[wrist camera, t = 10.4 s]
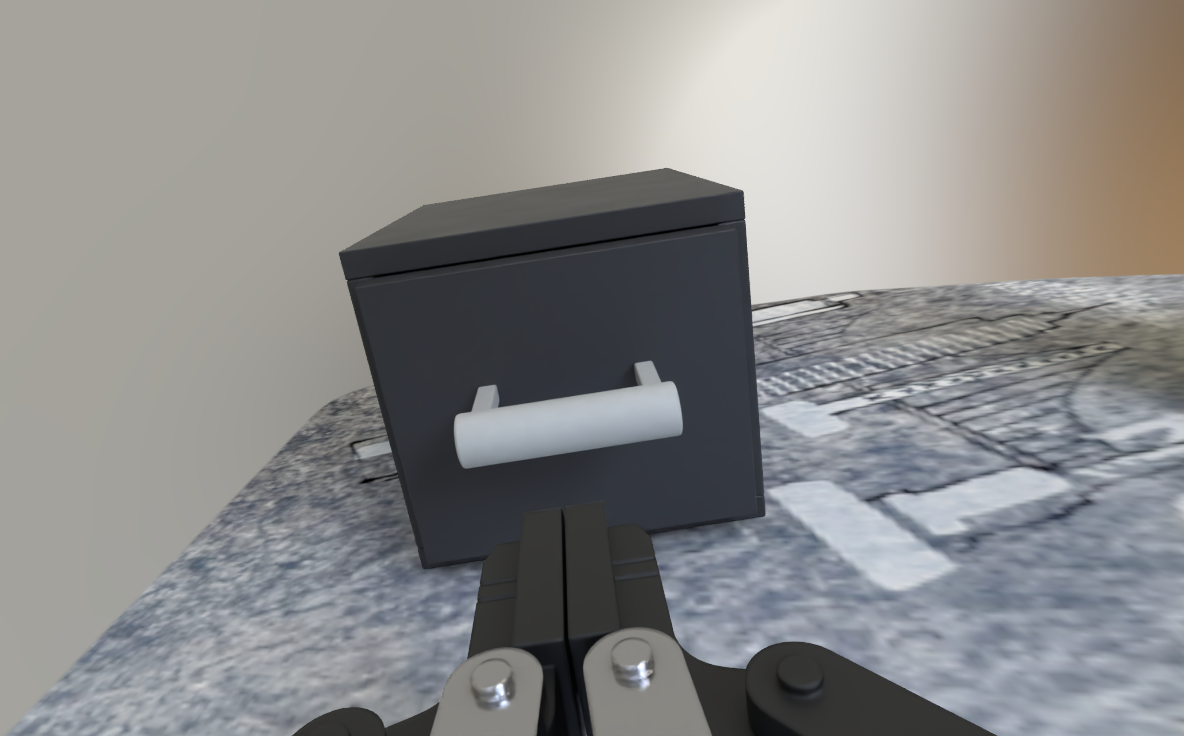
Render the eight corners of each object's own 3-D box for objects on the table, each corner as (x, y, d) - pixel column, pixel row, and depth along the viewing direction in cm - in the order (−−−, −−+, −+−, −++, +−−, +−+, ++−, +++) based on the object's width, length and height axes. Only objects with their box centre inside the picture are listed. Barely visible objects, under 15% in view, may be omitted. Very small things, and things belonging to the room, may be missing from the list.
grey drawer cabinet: (766, 516, 25) (743, 190, 21) (422, 569, 25) (337, 252, 21) (690, 380, 39) (668, 167, 35) (468, 414, 39) (422, 205, 35)
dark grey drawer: (797, 588, 20) (780, 251, 17) (402, 650, 20) (307, 323, 17) (685, 380, 37) (666, 192, 33) (471, 413, 37) (430, 228, 33)
